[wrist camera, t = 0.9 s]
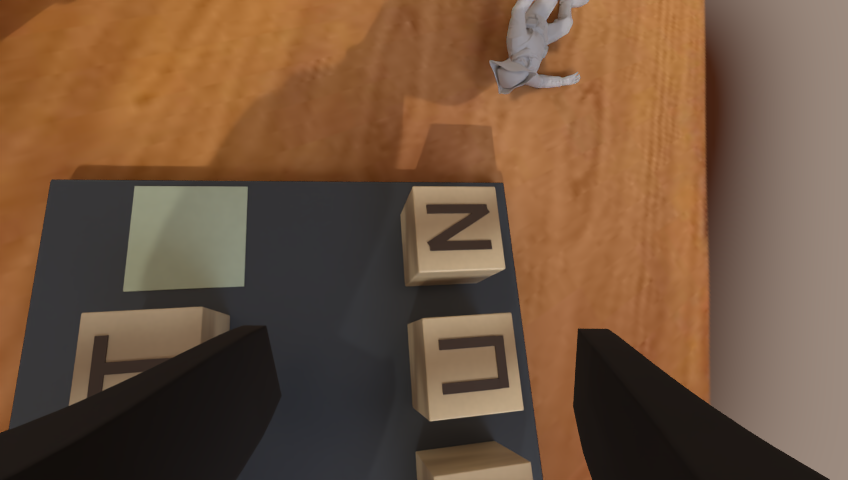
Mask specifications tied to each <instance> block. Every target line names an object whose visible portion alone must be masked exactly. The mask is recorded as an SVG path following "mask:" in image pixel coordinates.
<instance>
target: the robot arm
mask: <svg viewBox="0 0 848 480" xmlns="http://www.w3.org/2000/svg"><path fill="white" fill-rule="evenodd" d="M281 396H282V395H281V390H280V385H279V381H278V376H277V372H276V367H275V363H274V358H273V353H272V349H271V344H270V340H269V335H268V331H267V326H266V325H243V326H240V327H237V328H234V329H232V330H229V331H227V332H225V333H222V334H220V335H218V336H216V337H214V338H212V339H209V340H207V341H205V342H203V343H201V344H199V345H197V346H195V347H193V348H191V349H189V350H187V351H185V352H183V353H181V354H179V355H177V356H175V357H173V358H171V359H169V360H167V361H165V362H163V363H161V364H158V365H156V366H154V367H152V368H150V369H148V370H146V371H144V372H142V373H140V374H138V375H136V376H133V377H131V378H129V379H127V380H125V381H123V382H120V383H118V384H116V385H114V386H112V387H110V388H108V389H105V390H103V391H101V392H99V393H97V394H95V395H93V396H90V397H88V398H86V399H83V400H81V401H79V402H77V403H74V404H72V405H70V406H67V407H65V408H62V409H60V410H58V411H55V412H53V413H50V414H48V415H45V416H43V417H40V418H38V419H35V420H33V421H30V422H28V423H25V424H23V425H20V426H17V427H15V428H12V429H9V430H7V431H4V432H2V433H0V480H236V479H237V478H238V476H239V475H240V473H241V472H242V470H243V468H244V467H245V465H246V463H247V462H248V460H249V459H250V457H251V455H252V454H253V452H254V451H255V449H256V447H257V446H258V444H259V442H260V441H261V439H262V437H263V436H264V434H265V431H266V429H267V427H268V425H269V423H270V421H271V419H272V417H273V415H274V412H275V410H276V408H277V405H278V403H279V401H280V398H281ZM573 408H574V413H575V418H576V422H577V427H578V432H579V436H580V441H581V445H582V450H583V453H584V456H585V460H586V463H587V466H588V468H589V471H590V474H591V477H592V480H829V479H828V478H826V477H825V476H823V475H821V474H819V473H818V472H816V471H814V470H813V469H811V468H809V467H808V466H806V465H804V464H802V463H801V462H799V461H797V460H796V459H794V458H792V457H791V456H789V455H787V454H785V453H784V452H782V451H780V450H779V449H777V448H775V447H773V446H772V445H770V444H769V443H767V442H765V441H764V440H762V439H761V438H759V437H758V436H756V435H754V434H753V433H751V432H750V431H748V430H747V429H745V428H743V427H742V426H741V425H739V424H737V423H736V422H734V421H733V420H732V419H730V418H728V417H727V416H726V415H724V414H722V413H721V412H720V411H718V410H717V409H715V408H714V407H712V406H711V405H709V404H708V403H706V402H705V401H704V400H702V399H701V398H699V397H698V396H697V395H695V394H694V393H692V392H691V391H689V390H688V389H687V388H685V387H684V386H683V385H681V384H680V383H679V382H677V381H676V380H675V379H673V378H672V377H670V376H669V375H668V374H666V373H665V372H664V371H663V370H661V369H660V368H659V367H657V366H656V365H655V364H653V363H652V362H651V361H649V360H648V359H647V358H646V357H644V356H643V355H642V354H640V353H639V352H638V351H637V350H635V349H634V348H633V347H631V346H630V345H629V344H628V343H626V342H625V341H624V340H622V339H621V338H620V337H619V336H617V335H616V334H614V333H613V332H612V331H610V330H609V329H578V337H577V353H576V369H575V386H574V402H573Z"/></svg>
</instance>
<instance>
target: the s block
mask: <svg viewBox="0 0 848 480" xmlns="http://www.w3.org/2000/svg"><path fill="white" fill-rule="evenodd" d="M416 469H417V480H533V476H532V468H531V462H530V461H528V460H526V459H525V458H523V457H521V456H520V455H518V454H516V453H514V452H513V451H511V450H509V449H508V448H506V447H504V446H502V445H501V444H499V443H497V442H496V441H490V442H483V443H475V444H468V445H460V446H453V447H445V448H438V449H430V450H423V451H416Z"/></svg>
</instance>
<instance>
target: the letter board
mask: <svg viewBox="0 0 848 480" xmlns="http://www.w3.org/2000/svg"><path fill="white" fill-rule="evenodd" d="M243 325H266V326H267V331H268V335H269V340H270V344H271V349H272V353H273V358H274V363H275V367H276V372H277V376H278V381H279V385H280V390H281V395H282V396H281V398H280V401H279V403H278V405H277V408H276V410H275V412H274V415H273V417H272V419H271V421H270V423H269V425H268V427H267V429H266V431H265V434H264V436H263V437H262V439H261V441H260V442H259V444H258V446H257V447H256V449H255V451H254V452H253V454H252V455H251V457H250V459H249V460H248V462H247V463H246V465H245V467H244V468H243V470H242V472H241V473H240V475H239V476H238V478H237V479H236V480H417V469H416V451H423V450H430V449H438V448H445V447H453V446H460V445H468V444H475V443H483V442H490V441H496V442H497V443H499V444H501V445H502V446H504V447H506V448H508V449H509V450H511V451H513V452H514V453H516V454H518V455H520V456H521V457H523V458H525V459H526V460H528V461H530V462H531V468H532V476H533V480H543V477H542V469H541V462H540V454H539V447H538V439H537V432H536V424H535V417H534V410H533V402H532V395H531V387H530V380H529V372H528V365H527V357H526V350H525V342H524V335H523V327H522V320H521V313H520V305H519V298H518V290H517V283H516V275H515V268H514V260H513V253H512V245H511V238H510V230H509V223H508V215H507V208H506V201H505V193H504V186H503V183H451V182H313V181H176V180H51V182H50V188H49V194H48V200H47V206H46V212H45V218H44V224H43V230H42V236H41V242H40V248H39V254H38V259H37V265H36V271H35V277H34V283H33V289H32V295H31V301H30V307H29V313H28V319H27V325H26V331H25V337H24V343H23V349H22V354H21V360H20V366H19V372H18V378H17V384H16V390H15V396H14V402H13V408H12V414H11V420H10V426H9V429H12V428H15V427H17V426H20V425H23V424H25V423H28V422H30V421H33V420H35V419H38V418H40V417H43V416H45V415H48V414H50V413H53V412H55V411H58V410H60V409H62V408H65V407H67V406H70V405H72V404H74V403H77V402H79V401H81V400H83V399H86V398H88V397H90V396H93V395H95V394H97V393H99V392H101V391H103V390H105V389H108V388H110V387H112V386H114V385H116V384H118V383H120V382H123V381H125V380H127V379H129V378H131V377H133V376H136V375H138V374H140V373H142V372H144V371H146V370H148V369H150V368H152V367H154V366H156V365H158V364H161V363H163V362H165V361H167V360H169V359H171V358H173V357H175V356H177V355H179V354H181V353H183V352H185V351H187V350H189V349H191V348H193V347H195V346H197V345H199V344H201V343H203V342H205V341H207V340H209V339H212V338H214V337H216V336H218V335H220V334H222V333H225V332H227V331H229V330H232V329H234V328H237V327H240V326H243Z"/></svg>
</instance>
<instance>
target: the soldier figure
mask: <svg viewBox="0 0 848 480" xmlns="http://www.w3.org/2000/svg"><path fill="white" fill-rule="evenodd" d="M533 1H534V0H518V1H517V2H516V4H515V6H514V7H513V9H512V12H511V16H512V17H511V19H510V22H509V27H508V32H507V40H506V43H507V50H508V54H509V59H508V58H507V60H505V61H503V62H498V61H494V60H490V61H489V63H490V66H491V68H492V69H493V72H494V75H495V78H496V81H497V84H498V90H499V94H501V93H502V94H509V93H510V92H511V91H512V90H513V89H515V88H516V87H519V86H522V85H529V86H532V87H535V88H551V87H560V86H561V85H562V86H563V85H572V84H575V83H577V82H578V81H579V79H580V77H579V76H580V74H579V75H577V74H578V72H576V73H575V74H573V75H570V76H566V77H564V78H561V77H560V76H547V75H542V74H540V75H538V73H537V70H538V69H539V67H540V63H541V61H542V59H543V58H545V56H546V54H547V52H548V48H549V46H547V45H548V44H550V43H552V42H555V41H556V40H558V39H560V38H561V37H563V36H564V35H566V34H568V33H569V30H570V28H571V27H572V24H573V20H572V17H571V8H575V7H581V6H583V5H585V4H586V3H588V1H589V0H560V2H559V5H560V7H559V13H558V19H555V20H554V22H553V23H547V21H546V20H547V18H548V17H549V15H550V13H551V12H552V11H553V9H554V7H555V5H556V4H557V1H558V0H536V1H535V2H534V3H533V4H532V2H533ZM531 4H532V5H531ZM530 5H531V7H530ZM529 7H530V8H529ZM528 8H529V9H528ZM525 12H526V13H525ZM576 75H577V76H576ZM578 77H579V78H578ZM576 78H577V79H576Z"/></svg>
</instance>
